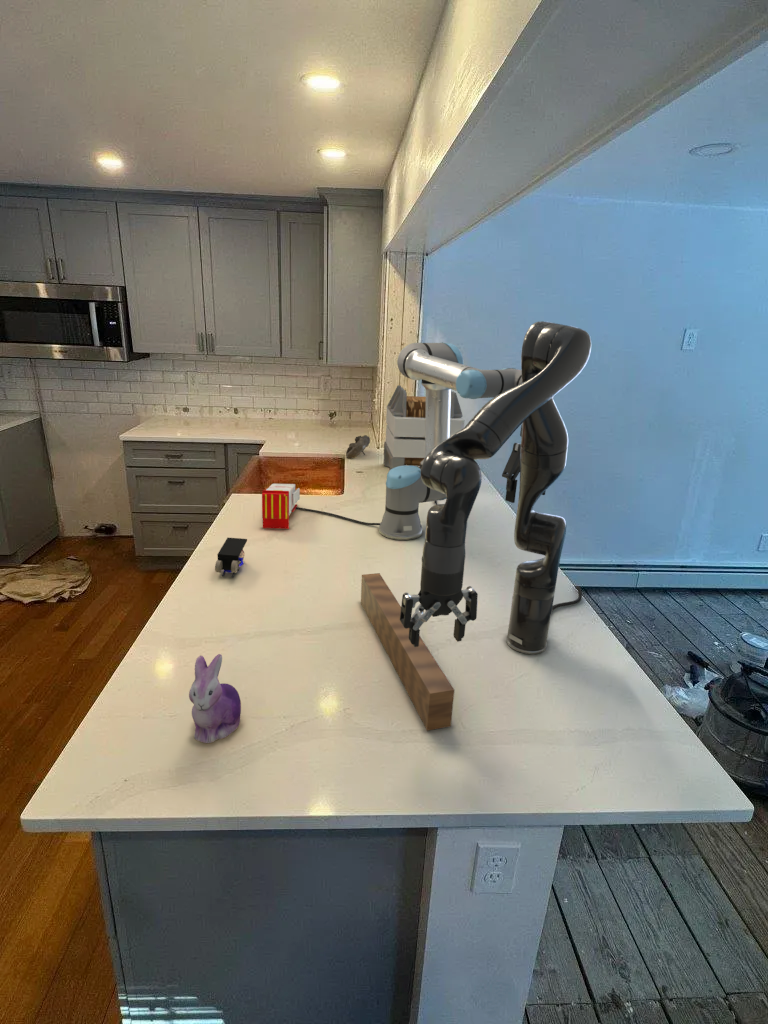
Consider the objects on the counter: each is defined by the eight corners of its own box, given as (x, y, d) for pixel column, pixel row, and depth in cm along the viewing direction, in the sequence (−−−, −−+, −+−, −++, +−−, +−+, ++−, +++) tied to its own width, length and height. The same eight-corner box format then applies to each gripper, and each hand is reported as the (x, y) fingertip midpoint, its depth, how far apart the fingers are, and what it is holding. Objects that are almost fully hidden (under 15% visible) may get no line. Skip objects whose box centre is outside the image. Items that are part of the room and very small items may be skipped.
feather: (434, 489, 255) (437, 485, 255) (436, 507, 229) (439, 503, 228) (431, 487, 255) (434, 483, 254) (433, 505, 228) (436, 501, 228)
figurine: (196, 753, 99) (190, 681, 94) (186, 717, 107) (180, 649, 102) (250, 737, 103) (246, 667, 98) (236, 703, 112) (232, 637, 107)
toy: (301, 479, 224) (291, 492, 194) (301, 512, 226) (291, 530, 197) (270, 478, 223) (256, 491, 194) (271, 511, 226) (256, 529, 197)
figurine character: (238, 584, 162) (249, 557, 175) (236, 562, 158) (247, 536, 172) (215, 584, 161) (227, 556, 175) (212, 561, 158) (225, 535, 171)
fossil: (346, 441, 313) (367, 426, 308) (356, 454, 316) (378, 440, 311) (339, 455, 293) (362, 439, 288) (351, 469, 296) (373, 453, 291)
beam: (360, 602, 152) (361, 574, 149) (378, 601, 154) (379, 572, 151) (426, 730, 107) (430, 693, 104) (450, 726, 108) (454, 689, 106)
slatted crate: (382, 463, 289) (386, 382, 275) (445, 464, 293) (451, 384, 279) (390, 482, 257) (394, 392, 243) (460, 483, 261) (468, 394, 247)
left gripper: (516, 430, 145) (506, 508, 152) (574, 422, 159) (562, 494, 167) (494, 425, 150) (485, 501, 158) (552, 417, 165) (542, 487, 172)
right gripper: (412, 576, 95) (406, 658, 101) (489, 568, 99) (479, 648, 105) (398, 557, 102) (394, 635, 107) (471, 551, 106) (463, 627, 111)
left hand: (525, 497), depth 162 cm, fingers open, 13 cm apart
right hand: (436, 641), depth 106 cm, fingers open, 8 cm apart
